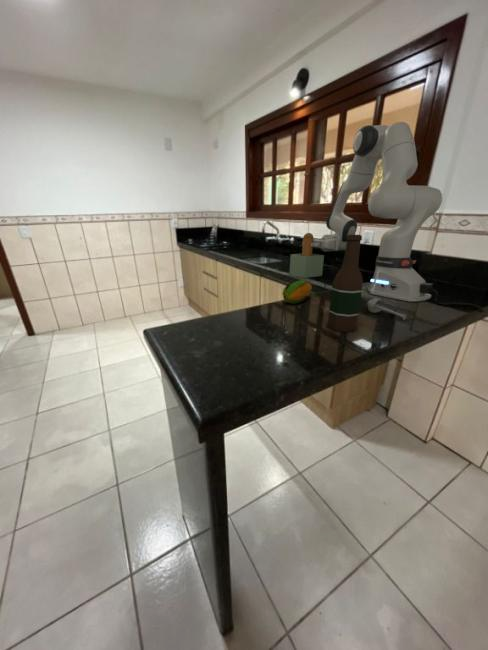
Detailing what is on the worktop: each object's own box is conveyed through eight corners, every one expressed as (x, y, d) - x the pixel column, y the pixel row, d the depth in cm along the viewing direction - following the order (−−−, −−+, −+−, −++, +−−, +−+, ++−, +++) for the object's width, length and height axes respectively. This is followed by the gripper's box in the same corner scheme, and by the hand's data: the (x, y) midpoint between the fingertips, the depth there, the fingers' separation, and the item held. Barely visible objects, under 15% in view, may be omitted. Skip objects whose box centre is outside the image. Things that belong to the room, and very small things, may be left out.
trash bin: (322, 275, 141) (324, 255, 137) (304, 278, 136) (305, 256, 132) (306, 272, 152) (308, 253, 148) (289, 274, 146) (290, 254, 142)
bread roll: (313, 256, 139) (316, 232, 135) (306, 257, 137) (308, 233, 133) (307, 255, 143) (309, 232, 139) (299, 256, 141) (301, 232, 137)
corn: (278, 283, 88) (301, 274, 104) (276, 304, 91) (299, 292, 107) (298, 287, 85) (319, 277, 100) (295, 309, 88) (316, 296, 103)
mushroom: (404, 309, 74) (366, 294, 82) (396, 324, 75) (359, 308, 84) (413, 310, 78) (376, 296, 87) (406, 324, 80) (370, 309, 88)
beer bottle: (323, 322, 76) (333, 234, 67) (350, 322, 75) (364, 234, 67) (331, 332, 68) (343, 235, 60) (361, 332, 68) (378, 235, 59)
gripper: (316, 236, 150) (296, 236, 145) (341, 237, 133) (319, 238, 128) (315, 247, 153) (295, 248, 148) (339, 250, 135) (317, 252, 130)
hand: (306, 243), depth 138 cm, fingers closed on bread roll, 5 cm apart
